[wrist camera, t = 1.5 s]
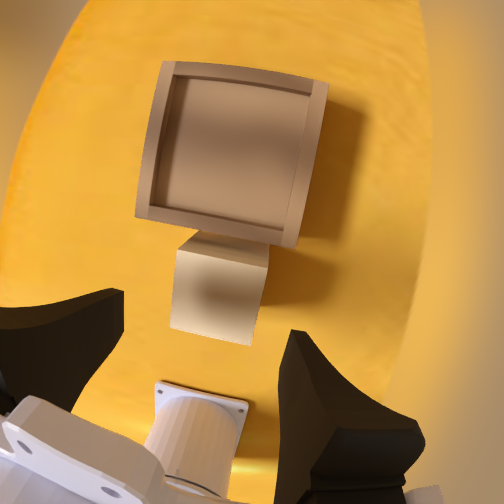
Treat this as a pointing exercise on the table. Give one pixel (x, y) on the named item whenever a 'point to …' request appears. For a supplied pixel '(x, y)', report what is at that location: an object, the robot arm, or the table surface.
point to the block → (219, 286)
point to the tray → (231, 150)
